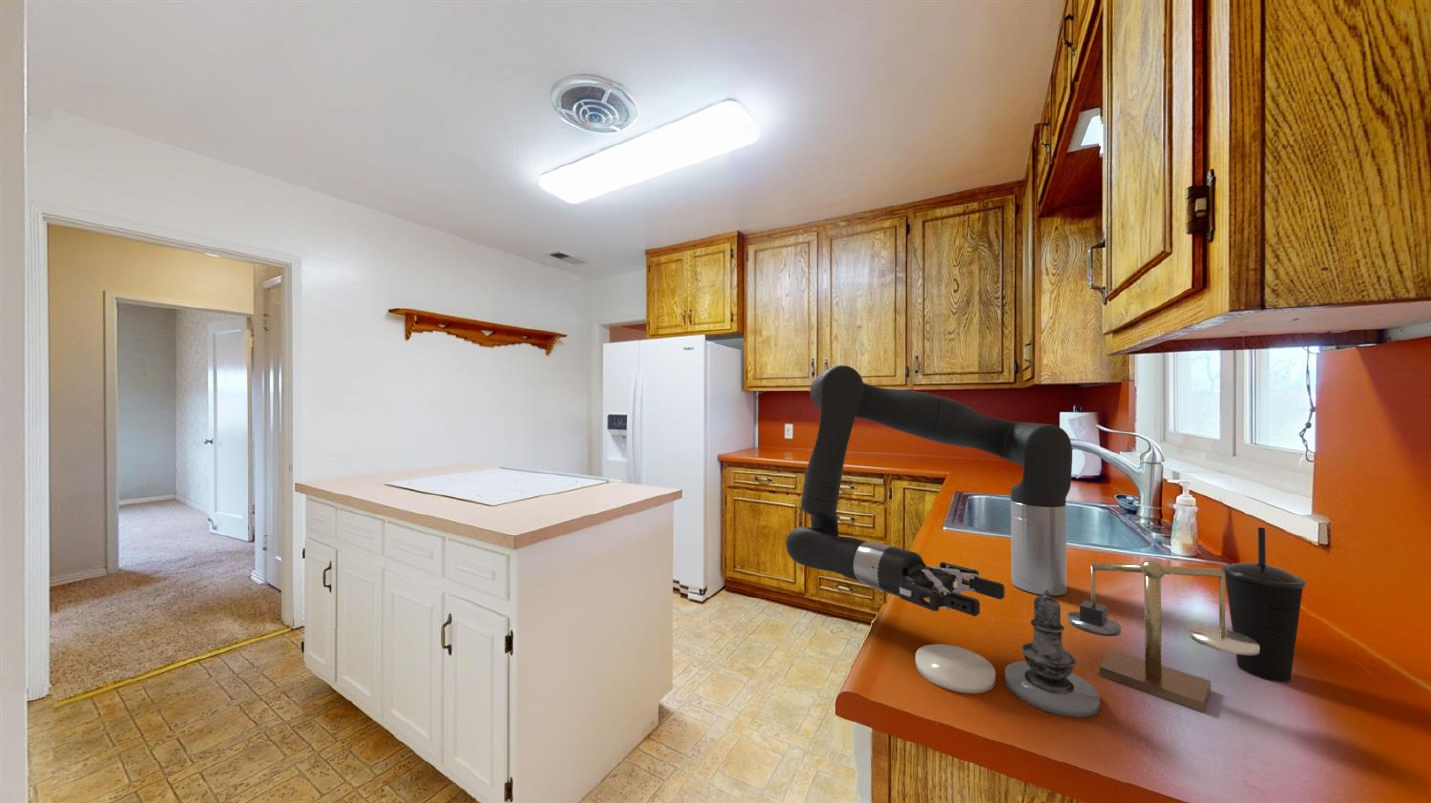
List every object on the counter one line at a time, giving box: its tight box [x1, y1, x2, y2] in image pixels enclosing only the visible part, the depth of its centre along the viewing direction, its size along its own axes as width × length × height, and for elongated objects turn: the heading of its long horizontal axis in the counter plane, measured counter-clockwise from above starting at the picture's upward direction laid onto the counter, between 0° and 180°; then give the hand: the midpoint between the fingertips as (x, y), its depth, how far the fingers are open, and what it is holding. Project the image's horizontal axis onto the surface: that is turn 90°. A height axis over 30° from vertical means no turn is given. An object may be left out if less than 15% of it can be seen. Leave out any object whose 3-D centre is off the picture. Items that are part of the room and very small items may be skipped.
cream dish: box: [914, 643, 996, 694], centre depth 66 cm, size 10×10×1 cm
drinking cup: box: [1221, 527, 1307, 683], centre depth 65 cm, size 8×8×20 cm
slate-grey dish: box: [1004, 660, 1101, 718], centre depth 61 cm, size 10×10×1 cm
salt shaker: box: [1020, 590, 1077, 694], centre depth 61 cm, size 6×6×12 cm
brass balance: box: [1067, 559, 1260, 713], centre depth 63 cm, size 7×19×17 cm, turn 38°
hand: (991, 600), depth 66 cm, fingers open, 8 cm apart
